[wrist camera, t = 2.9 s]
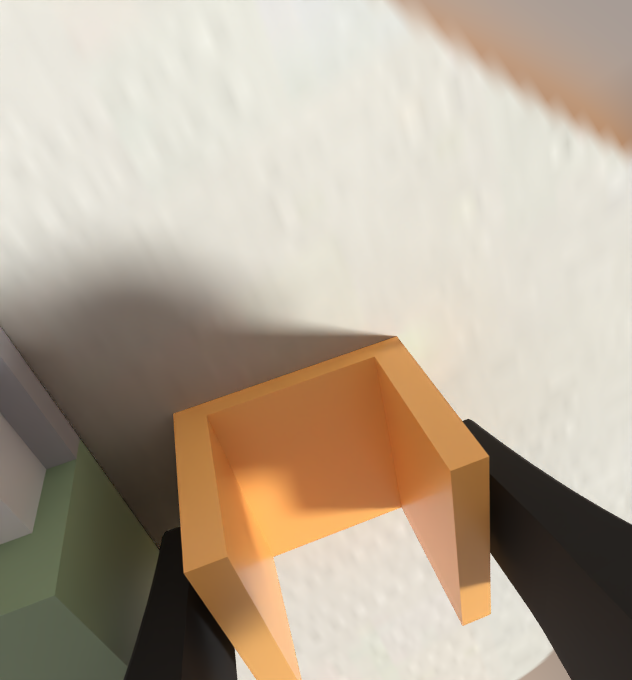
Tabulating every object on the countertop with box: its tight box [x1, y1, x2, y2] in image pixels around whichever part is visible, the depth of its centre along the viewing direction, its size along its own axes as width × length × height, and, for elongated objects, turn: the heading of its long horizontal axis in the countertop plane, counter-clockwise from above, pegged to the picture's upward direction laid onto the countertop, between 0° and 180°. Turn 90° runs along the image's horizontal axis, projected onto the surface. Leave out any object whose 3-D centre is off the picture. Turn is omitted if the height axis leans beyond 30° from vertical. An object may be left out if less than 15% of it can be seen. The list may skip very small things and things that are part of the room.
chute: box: [173, 336, 491, 680], centre depth 11 cm, size 5×6×4 cm
